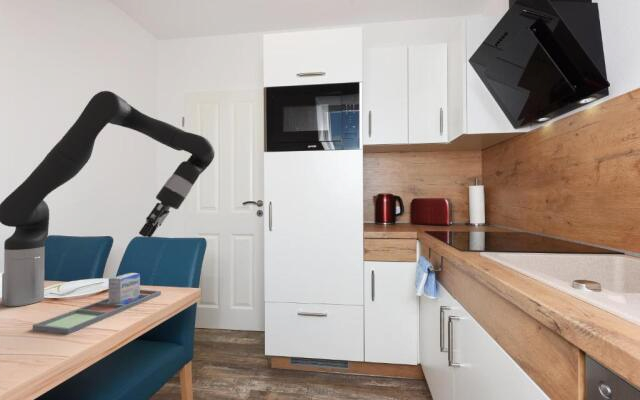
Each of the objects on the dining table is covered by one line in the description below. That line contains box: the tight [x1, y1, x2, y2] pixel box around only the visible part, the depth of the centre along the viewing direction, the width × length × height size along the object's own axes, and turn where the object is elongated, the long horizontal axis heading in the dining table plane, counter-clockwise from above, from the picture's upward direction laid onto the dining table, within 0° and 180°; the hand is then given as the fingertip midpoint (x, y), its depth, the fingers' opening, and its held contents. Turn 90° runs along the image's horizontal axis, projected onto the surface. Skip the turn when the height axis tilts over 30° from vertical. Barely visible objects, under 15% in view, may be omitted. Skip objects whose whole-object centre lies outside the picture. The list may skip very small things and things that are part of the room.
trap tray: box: [32, 289, 162, 335], centre depth 92 cm, size 11×32×1 cm, turn 169°
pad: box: [46, 313, 100, 328], centre depth 82 cm, size 10×11×1 cm
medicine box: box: [108, 272, 141, 305], centre depth 98 cm, size 8×4×9 cm, turn 168°
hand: (144, 235), depth 94 cm, fingers open, 8 cm apart
